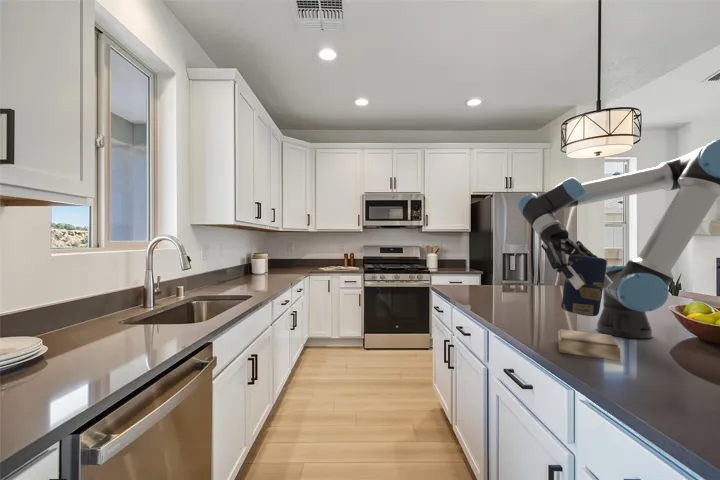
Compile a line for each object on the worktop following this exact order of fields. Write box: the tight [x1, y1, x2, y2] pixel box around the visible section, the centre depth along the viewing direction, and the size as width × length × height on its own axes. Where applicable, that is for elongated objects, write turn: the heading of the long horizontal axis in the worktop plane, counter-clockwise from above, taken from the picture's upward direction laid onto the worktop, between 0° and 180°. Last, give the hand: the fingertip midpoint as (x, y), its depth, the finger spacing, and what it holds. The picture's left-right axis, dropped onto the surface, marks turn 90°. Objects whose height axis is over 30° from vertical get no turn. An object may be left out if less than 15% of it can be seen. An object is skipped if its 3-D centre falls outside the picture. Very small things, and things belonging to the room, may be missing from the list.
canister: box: [560, 252, 608, 317], centre depth 101 cm, size 10×10×18 cm
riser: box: [557, 328, 621, 362], centre depth 100 cm, size 14×12×4 cm
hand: (594, 286), depth 98 cm, fingers closed on canister, 10 cm apart
